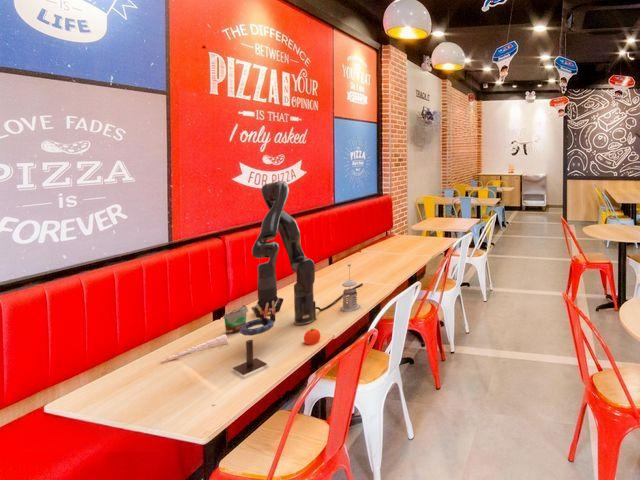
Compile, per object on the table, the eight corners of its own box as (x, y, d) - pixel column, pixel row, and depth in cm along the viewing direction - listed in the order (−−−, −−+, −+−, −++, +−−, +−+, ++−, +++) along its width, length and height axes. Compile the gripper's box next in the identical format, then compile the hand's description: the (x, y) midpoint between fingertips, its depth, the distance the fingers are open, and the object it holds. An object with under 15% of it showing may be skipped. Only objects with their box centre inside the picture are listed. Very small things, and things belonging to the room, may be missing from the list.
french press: (362, 304, 221) (361, 261, 220) (353, 312, 209) (352, 267, 209) (345, 304, 222) (344, 261, 221) (336, 312, 210) (335, 267, 210)
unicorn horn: (160, 359, 163) (160, 348, 163) (226, 342, 177) (226, 332, 177) (159, 364, 159) (159, 352, 159) (227, 346, 174) (227, 336, 174)
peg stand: (256, 361, 160) (255, 333, 160) (267, 367, 155) (266, 339, 155) (232, 371, 153) (232, 342, 153) (243, 378, 148) (242, 348, 148)
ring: (264, 320, 176) (263, 315, 176) (279, 326, 169) (279, 321, 169) (234, 332, 166) (233, 326, 166) (249, 339, 159) (249, 333, 159)
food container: (234, 336, 184) (233, 315, 184) (223, 335, 185) (223, 314, 185) (254, 324, 196) (253, 305, 196) (244, 324, 197) (243, 304, 197)
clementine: (304, 341, 177) (303, 326, 177) (320, 338, 180) (320, 323, 180) (303, 349, 170) (303, 333, 170) (320, 346, 172) (320, 330, 172)
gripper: (277, 280, 179) (279, 316, 180) (246, 289, 168) (248, 328, 168) (287, 282, 175) (288, 320, 176) (255, 292, 164) (257, 332, 164)
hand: (268, 324), depth 172 cm, fingers closed on ring, 2 cm apart
